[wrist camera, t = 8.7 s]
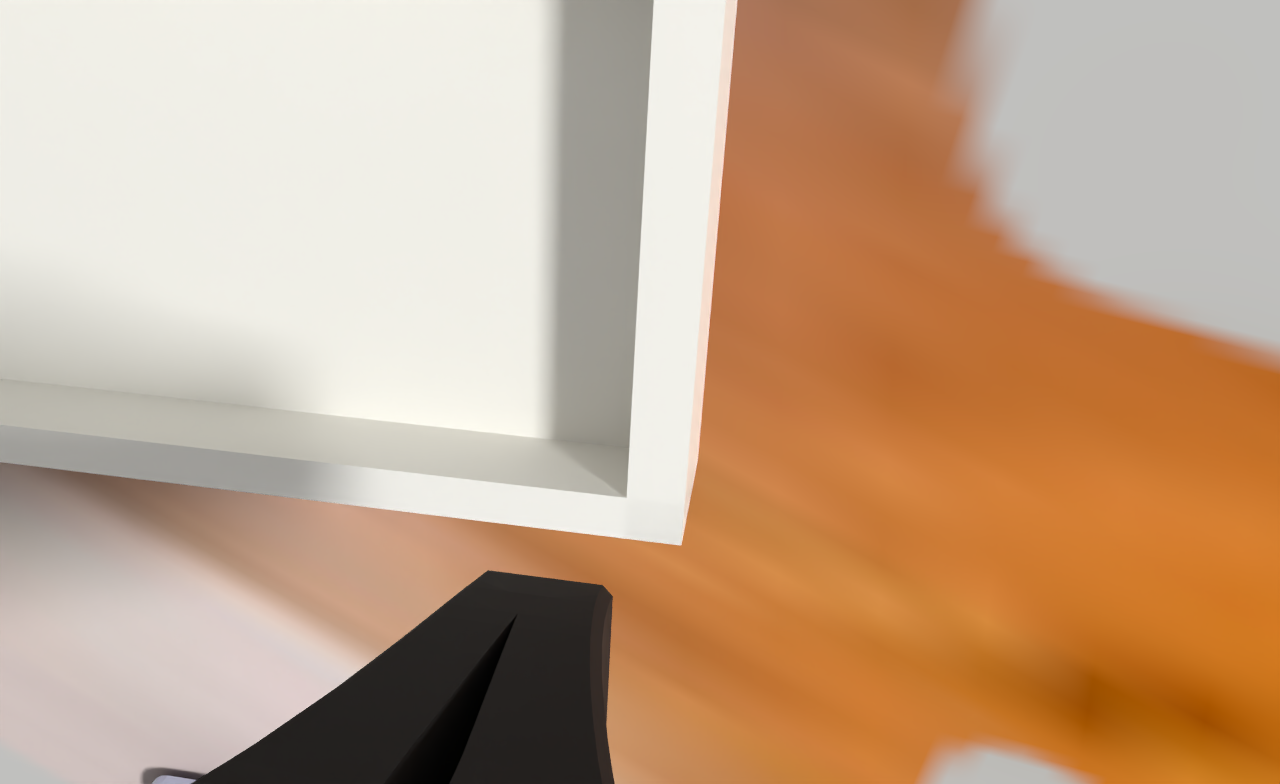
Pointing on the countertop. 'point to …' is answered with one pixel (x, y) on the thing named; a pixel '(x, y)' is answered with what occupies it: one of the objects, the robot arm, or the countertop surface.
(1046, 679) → the countertop surface
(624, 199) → the open front case
